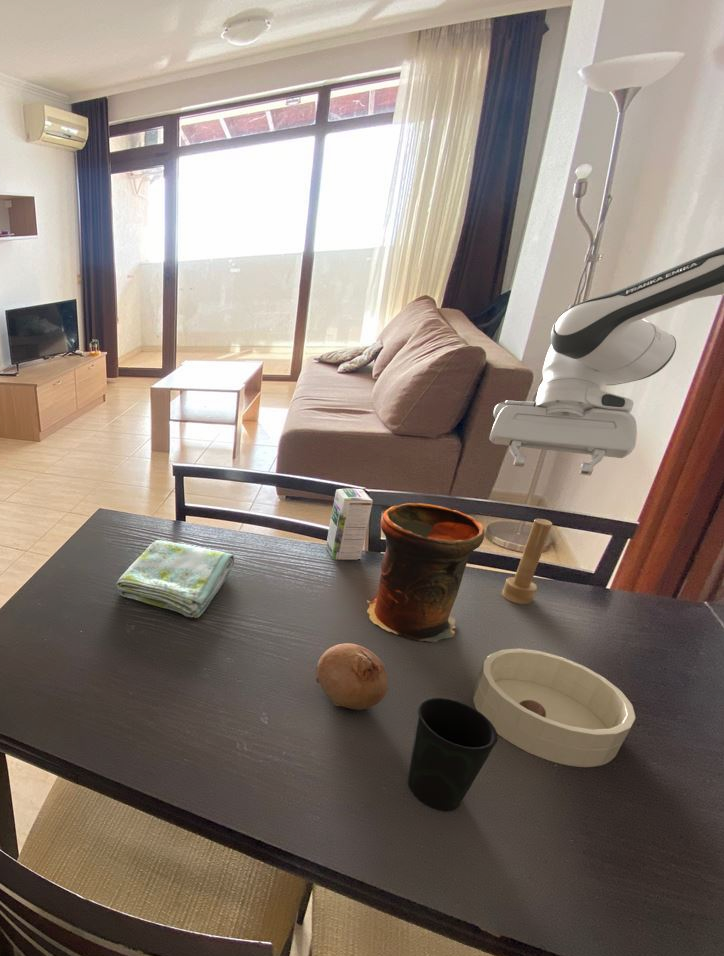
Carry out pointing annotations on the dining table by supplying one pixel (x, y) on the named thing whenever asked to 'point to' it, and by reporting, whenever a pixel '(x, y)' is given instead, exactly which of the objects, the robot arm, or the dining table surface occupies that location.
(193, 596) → the towel
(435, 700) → the cup
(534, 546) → the wooden tamper
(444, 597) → the vessel
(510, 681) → the bowl
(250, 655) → the dining table surface
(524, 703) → the bead
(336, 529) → the syrup box
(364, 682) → the onion
